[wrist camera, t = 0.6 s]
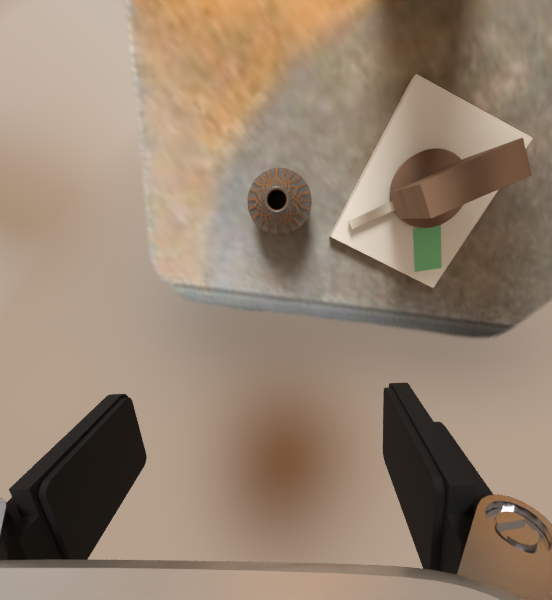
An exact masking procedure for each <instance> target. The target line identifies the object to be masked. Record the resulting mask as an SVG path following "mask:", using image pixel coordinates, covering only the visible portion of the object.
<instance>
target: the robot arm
mask: <svg viewBox="0 0 552 600" xmlns="http://www.w3.org/2000/svg"><path fill="white" fill-rule="evenodd" d="M383 407H384V408H383V410H384V411H383V455H384V460H385V464H386V466H387V469H388V472H389V475H390V477H391V480H392V483H393V486H394V488H395V491H396V494H397V497H398V499H399V502H400V505H401V508H402V511H403V513H404V516H405V519H406V522H407V525H408V527H409V530H410V533H411V536H412V538H413V541H414V544H415V547H416V550H417V552H418V555H419V558H420V561H421V563H422V566H423V569H420V568H409V567H398V566H379V565H354V564H328V563H280V562H279V563H278V562H233V561H163V560H87V559H88V557H89V556H90V554H91V552H92V551H93V549H94V548H95V546H96V544H97V543H98V541H99V539H100V538H101V536H102V534H103V533H104V531H105V529H106V528H107V526H108V525H109V523H110V521H111V520H112V518H113V516H114V515H115V513H116V511H117V510H118V508H119V507H120V505H121V503H122V502H123V500H124V498H125V497H126V495H127V493H128V492H129V490H130V488H131V487H132V485H133V484H134V481H135V480H136V478H137V477H138V475H139V474H140V472H141V470H142V469H143V467H144V465H145V463H146V452H145V448H144V444H143V441H142V437H141V433H140V429H139V425H138V422H137V418H136V414H135V410H134V406H133V402H132V400H131V398H128V396H127V395H126V394H114V395H108V396H107V397H106V398H105V399H104V400H102V401H101V402H100V403H99V404H98V405H97V406H96V407H95V408H94V409H93V410H92V411H91V412H90V413H89V414H88V415H87V416H86V417H84V418H83V419H82V420H81V421H80V422H79V423H78V424H77V425H76V426H75V427H74V428H73V429H72V430H71V431H70V432H69V433H68V434H67V435H66V436H65V437H64V438H63V439H61V440H60V441H59V442H58V443H57V444H56V445H55V446H54V447H53V448H52V449H51V450H50V451H49V452H48V453H47V454H46V455H44V456H43V457H42V458H41V459H40V460H39V461H38V462H37V463H36V464H35V465H34V466H33V467H32V468H31V469H30V470H29V471H28V472H27V473H26V474H24V475H23V476H22V477H21V478H20V479H19V480H18V481H17V482H16V483H15V484H14V485H13V486H12V487H11V488H10V489H9V491H10V493H11V495H12V498H11V499H10V500H9V501H8V502H7V503H6V501H5V500H3V499H2V498H0V600H552V524H551V523H550V522H549V521H548V520H547V518H546V517H544V516H543V515H542V514H541V513H539V512H538V511H537V510H536V509H534V508H533V507H531V506H529V505H527V504H526V503H524V502H522V501H519V500H517V499H514V498H512V497H509V496H503V495H493V494H492V492H491V491H490V489H489V488H488V487H487V485H486V484H485V482H484V481H483V479H482V478H481V477H480V475H479V474H478V472H477V471H476V469H475V468H474V467H473V465H472V464H471V462H470V461H469V460H468V458H467V457H466V456H465V454H464V452H463V451H462V450H461V448H460V447H459V445H458V444H457V443H456V441H455V440H454V438H453V437H452V436H451V435H450V433H449V431H448V430H447V428H446V427H445V426H444V425H443V424H442V423H440V422H433V420H432V419H431V417H430V416H429V414H428V413H427V411H426V410H425V408H424V407H423V405H422V404H421V402H420V401H419V399H418V398H417V396H416V395H415V393H414V392H413V390H412V389H411V387H410V386H409V384H408V383H390V384H389V388H385V389H384V406H383Z"/></svg>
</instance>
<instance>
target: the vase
mask: <svg viewBox="0 0 552 600" xmlns="http://www.w3.org/2000/svg"><path fill="white" fill-rule="evenodd" d="M248 209H249V213H250V216H251V218H252V220H253V221H254V223H255V224H256V225H257V226H258V227H259V228H260V229H262V230H263V231H265V232H267V233H269V234H273V235H286V234H290V233H292V232H294V231H296V230H297V229H299V228H300V227H301V226H302V225H303V224H304V222H305V221H306V219H307V218H308V216H309V213H310V210H311V193H310V190H309V187H308V185H307V183H306V182H305V181H304V179H303V178H302V177H301V176H300V175H299V174H297V173H296V172H294V171H292V170H289V169H285V168H274V169H270V170H267V171H265V172H264V173H262V174H261V175H259V176H258V177H257V178H256V180H255V181H254V182H253V184H252V186H251V188H250V190H249V194H248Z"/></svg>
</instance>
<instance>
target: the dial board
mask: <svg viewBox="0 0 552 600" xmlns="http://www.w3.org/2000/svg"><path fill="white" fill-rule="evenodd" d="M520 138H523V140H524V144H525V149H526V148H527V146H528V145H529V143H530V142H531V140H532V139H533V138H532V137H530V136H528V135H526V134H525V133H523V132H521V131H519V130H517V129H515V128H514V127H512V126H510V125H508V124H506V123H505V122H503V121H501V120H499V119H497V118H496V117H494V116H492V115H490V114H488V113H486V112H485V111H483V110H481V109H479V108H477V107H476V106H474V105H472V104H470V103H468V102H466V101H465V100H463V99H461V98H459V97H457V96H456V95H454V94H452V93H450V92H448V91H447V90H445V89H443V88H441V87H439V86H437V85H436V84H434V83H432V82H430V81H428V80H427V79H425V78H423V77H421V76H419V75H417V74H416V75H415V76H414V77H413V78H412V80H411V81H410V83H409V85H408V87H407V89H406V90H405V92H404V94H403V96H402V98H401V100H400V102H399V104H398V106H397V108H396V110H395V112H394V113H393V115H392V117H391V119H390V121H389V123H388V125H387V127H386V129H385V131H384V133H383V134H382V136H381V138H380V140H379V142H378V144H377V146H376V148H375V150H374V152H373V154H372V155H371V157H370V159H369V161H368V163H367V165H366V167H365V169H364V171H363V173H362V175H361V177H360V178H359V180H358V182H357V184H356V186H355V188H354V190H353V192H352V194H351V196H350V198H349V199H348V201H347V203H346V205H345V207H344V209H343V211H342V213H341V215H340V217H339V219H338V220H337V222H336V224H335V226H334V228H333V230H332V232H331V234H330V237H332V238H334V239H336V240H338V241H340V242H342V243H344V244H346V245H348V246H350V247H352V248H354V249H356V250H358V251H360V252H362V253H364V254H366V255H368V256H370V257H372V258H374V259H376V260H378V261H380V262H382V263H384V264H386V265H388V266H390V267H392V268H394V269H396V270H398V271H400V272H402V273H404V274H406V275H408V276H410V277H412V278H414V279H416V280H418V281H420V282H422V283H424V284H426V285H428V286H430V287H432V288H434V286H435V285H436V283H437V282H438V280H439V279H440V277H441V276H442V274H443V273H444V271H445V270H446V268H447V267H448V265H449V264H450V262H451V261H452V259H453V258H454V256H455V255H456V253H457V252H458V250H459V249H460V247H461V246H462V244H463V243H464V241H465V240H466V238H467V237H468V235H469V234H470V232H471V231H472V229H473V228H474V226H475V225H476V223H477V222H478V220H479V219H480V217H481V216H482V214H483V213H484V211H485V210H486V208H487V207H488V205H489V204H490V202H491V201H492V199H493V198H494V196H495V194H496V193H497V191H498V190H496V191H494V192H492V193H489V194H487V195H485V196H482V197H480V198H478V199H475V200H473V201H471V202H468V203H466V204H464V205H463V206H462V208H461V209H460V210H459V212H458V213H457V214H456V215H455V216H454V217H452V218H451V219H450V220H448V221H447V222H445V223H443V224H441V225H438V226H435V227H430V228H419V227H413V226H410V225H408V224H406V223H404V222H403V221H402V220H400V219H398V216H397V215H396V214H395V212H394V211H392V212H390V213H388V214H385V215H383V216H381V217H379V218H376V219H374V220H372V221H370V222H367V223H365V224H363V225H361V226H358V227H356V228H354V229H351V228H350V225H349V223H348V221H349V220H351V219H353V218H356V217H358V216H360V215H362V214H364V213H367V212H369V211H371V210H373V209H376V208H378V207H380V206H382V205H384V204H387V203H389V202H390V187H391V183H392V180H393V177H394V175H395V173H396V172H397V170H398V169H399V167H400V166H401V165H402V164H403V163H404V162H405V161H406V160H407V159H409V158H410V157H412V156H413V155H415V154H417V153H419V152H421V151H424V150H428V149H434V148H438V149H445V150H448V151H451V152H453V153H455V154H456V155H457V156H458V157H460V158H461V159H464V158H467V157H470V156H473V155H475V154H478V153H481V152H484V151H486V150H489V149H492V148H495V147H498V146H500V145H503V144H506V143H509V142H511V141H514V140H517V139H520Z"/></svg>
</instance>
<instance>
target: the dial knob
mask: <svg viewBox="0 0 552 600" xmlns="http://www.w3.org/2000/svg"><path fill="white" fill-rule="evenodd" d="M529 176H531V171H530V167H529V162H528V158H527V153H526V149H525V144H524V140H523V138H520V139H517V140H514V141H511V142H509V143H506V144H503V145H500V146H498V147H495V148H492V149H489V150H486V151H484V152H481V153H478V154H475V155H473V156H470V157H467V158H464V159H461V158H460V157H458V156H457V155H456V154H455V153H453V152H451V151H448V150H445V149H438V148H434V149H428V150H424V151H421V152H419V153H417V154H415V155H413V156H412V157H410V158H409V159H407V160H406V161H405V162H404V163H403V164H402V165H401V166H400V167H399V169H398V170H397V172H396V173H395V175H394V177H393V180H392V183H391V187H390V202H389V203H387V204H384V205H382V206H380V207H378V208H376V209H373V210H371V211H369V212H367V213H364V214H362V215H360V216H358V217H356V218H353V219H351V220H349V221H348V223H349V225H350V228H351V229H354V228H356V227H358V226H361V225H363V224H365V223H367V222H370V221H372V220H374V219H376V218H379V217H381V216H383V215H385V214H388V213H390V212H392V211H394V212H395V214H396V215H397V216H398V219H400V220H402V221H403V222H404V223H406V224H408V225H410V226H413V227H419V228H430V227H435V226H438V225H441V224H443V223H445V222H447V221H448V220H450V219H451V218H452V217H454V216H455V215H456V214H457V213H458V212H459V210H460V209H461V208H462V206H463V205H464V204H466V203H468V202H471V201H473V200H475V199H478V198H480V197H482V196H485V195H487V194H489V193H492V192H494V191H496V190H499V189H501V188H503V187H505V186H508V185H510V184H512V183H515V182H517V181H519V180H522V179H524V178H526V177H529Z"/></svg>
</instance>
